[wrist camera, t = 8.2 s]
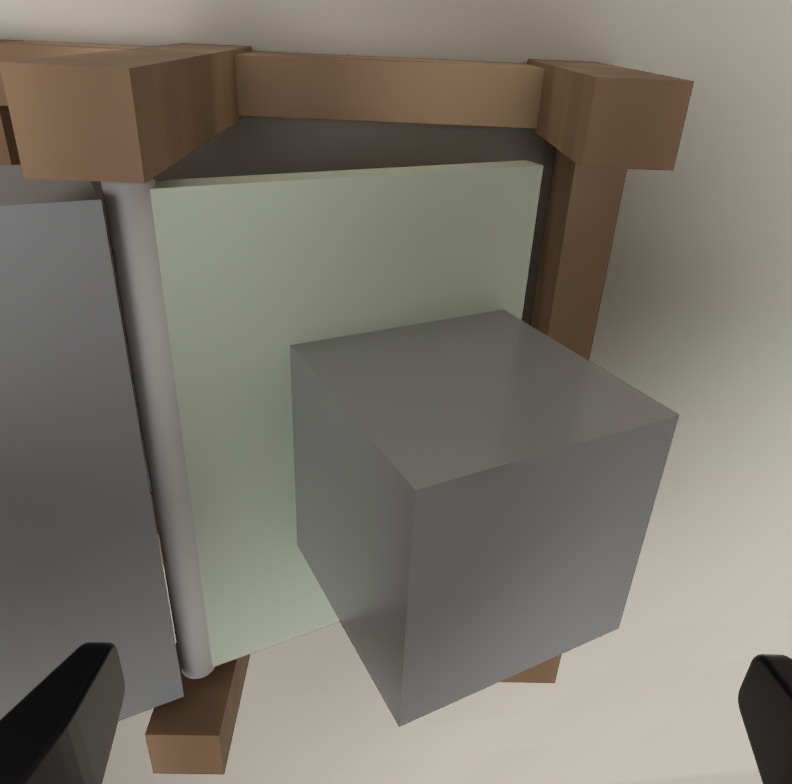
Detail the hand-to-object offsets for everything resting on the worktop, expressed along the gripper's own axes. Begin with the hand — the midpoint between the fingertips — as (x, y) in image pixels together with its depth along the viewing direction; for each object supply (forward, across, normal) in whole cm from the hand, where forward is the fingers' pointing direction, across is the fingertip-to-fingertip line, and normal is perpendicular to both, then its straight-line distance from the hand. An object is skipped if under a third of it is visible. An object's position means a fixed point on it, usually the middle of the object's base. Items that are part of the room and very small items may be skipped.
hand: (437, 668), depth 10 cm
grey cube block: (+4, -1, 0) cm, 4 cm away
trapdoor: (+7, +4, 0) cm, 8 cm away
